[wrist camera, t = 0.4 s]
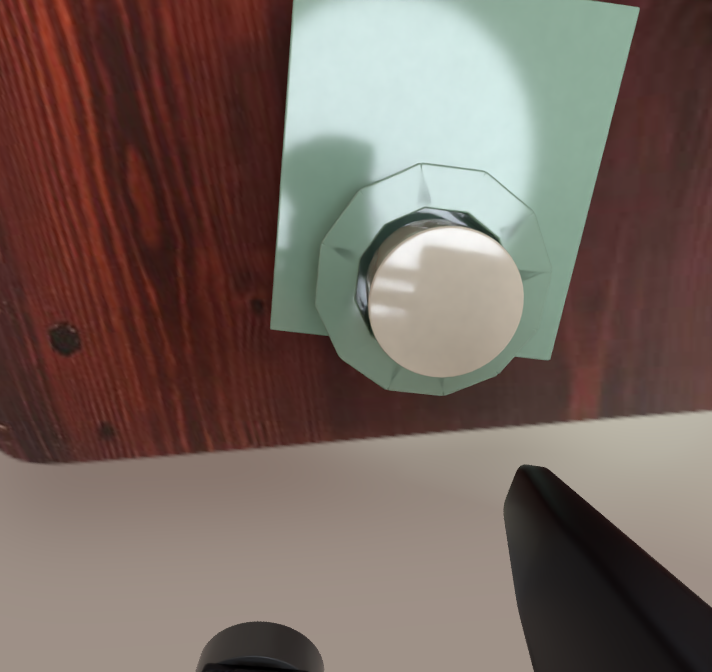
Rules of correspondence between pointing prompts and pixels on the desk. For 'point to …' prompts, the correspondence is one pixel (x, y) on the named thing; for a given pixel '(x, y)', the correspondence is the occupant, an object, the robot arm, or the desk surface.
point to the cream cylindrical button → (443, 297)
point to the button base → (440, 153)
